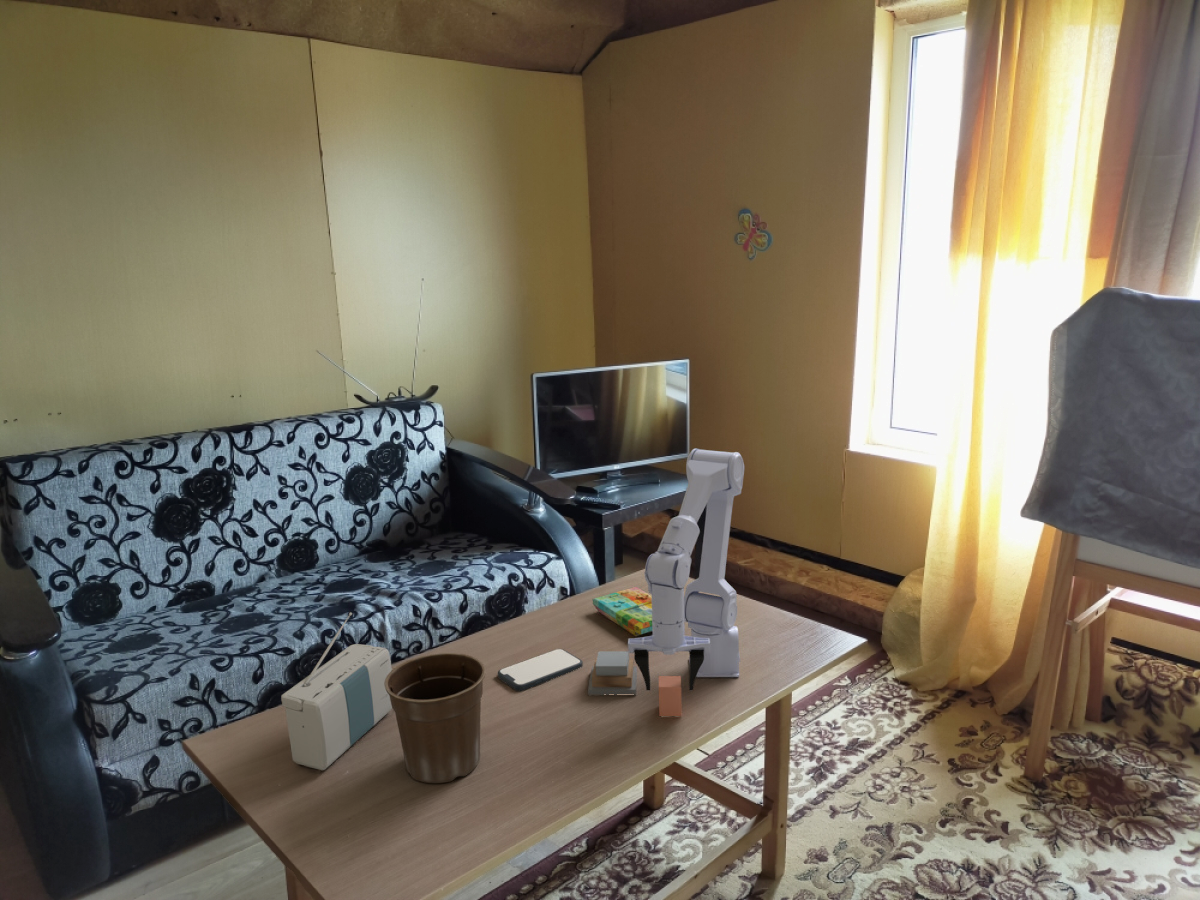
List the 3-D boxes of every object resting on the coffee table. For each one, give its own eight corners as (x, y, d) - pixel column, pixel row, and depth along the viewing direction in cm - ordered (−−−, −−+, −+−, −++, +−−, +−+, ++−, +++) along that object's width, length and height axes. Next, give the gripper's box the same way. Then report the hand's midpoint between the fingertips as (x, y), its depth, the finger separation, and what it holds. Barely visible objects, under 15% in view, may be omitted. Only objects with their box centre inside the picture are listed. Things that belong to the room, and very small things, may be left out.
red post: (681, 705, 156) (680, 675, 154) (681, 717, 152) (681, 687, 150) (659, 705, 156) (658, 676, 154) (659, 717, 152) (658, 687, 151)
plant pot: (408, 735, 149) (399, 652, 146) (498, 734, 149) (492, 650, 145) (382, 793, 134) (371, 701, 130) (483, 792, 133) (475, 699, 129)
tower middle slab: (633, 668, 167) (633, 658, 167) (631, 687, 160) (631, 677, 160) (595, 667, 168) (595, 658, 168) (592, 686, 161) (591, 677, 160)
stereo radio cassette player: (326, 777, 139) (312, 666, 134) (286, 768, 141) (270, 659, 137) (398, 711, 158) (387, 612, 153) (361, 704, 160) (349, 607, 156)
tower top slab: (629, 660, 166) (628, 651, 166) (627, 675, 160) (627, 666, 160) (598, 660, 167) (598, 651, 166) (596, 675, 161) (595, 666, 160)
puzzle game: (634, 583, 201) (685, 611, 185) (635, 601, 202) (685, 631, 186) (592, 595, 195) (640, 625, 179) (593, 613, 197) (641, 645, 180)
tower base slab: (637, 675, 168) (636, 666, 168) (635, 699, 160) (635, 689, 159) (592, 675, 169) (591, 666, 169) (588, 699, 160) (588, 689, 160)
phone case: (560, 653, 179) (495, 677, 169) (560, 646, 178) (494, 670, 169) (585, 669, 172) (519, 694, 162) (585, 661, 171) (518, 687, 162)
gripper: (626, 627, 146) (628, 699, 149) (710, 627, 145) (711, 699, 148) (628, 611, 153) (630, 679, 156) (708, 610, 152) (709, 679, 155)
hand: (669, 687), depth 153 cm, fingers open, 7 cm apart
